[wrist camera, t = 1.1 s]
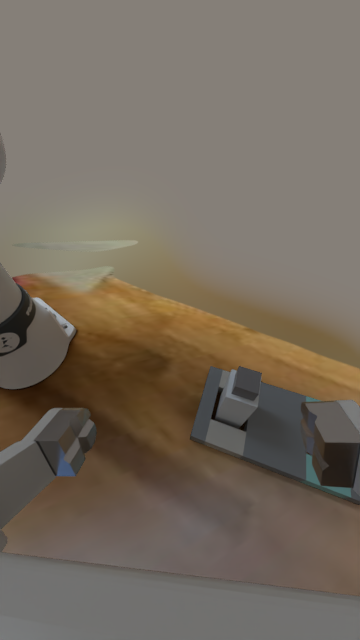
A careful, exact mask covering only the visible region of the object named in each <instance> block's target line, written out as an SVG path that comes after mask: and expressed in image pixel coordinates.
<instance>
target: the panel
mask: <svg viewBox="0 0 360 640" xmlns="http://www.w3.org/2000/svg"><path fill="white" fill-rule="evenodd" d="M229 374H230V372H228V371H225V370H221V369H218V368H215V367H212V366H211V367H210V370H209V374H208V377H207V381H206V384H205V388H204V391H203V394H202V398H201V401H200V405H199V408H198V412H197V415H196V419H195V422H194V425H193V429H192V432H191V436H190V439H191V440H193V441H196V442H198V443H201V444H204V445H206V446H209V447H211V448H214V449H216V450H219V451H222V452H224V453H227V454H229V455H232V456H234V457H237V458H240V459H242V460H245V461H247V462H250V463H252V464H255V465H258V466H260V467H263V468H265V469H268V470H270V471H273V472H276V473H278V474H281V475H283V476H286V477H288V478H291V479H294V480H296V481H299V482H301V483H304V484H306V485H309V486H312V487H314V488H317V489H319V490H322V491H324V492H327V493H330V494H332V495H335V496H337V497H340V498H342V499H345V500H348V501H350V502H353V503H355V504H358V505H360V496H359V495H358V494H357V493H356V492H355V491H354V490H353V488H344V487H329V486H321V485H320V483H319V480H318V478H317V475H316V473H315V471H314V468H313V466H312V456H311V455H308V454H306V449H305V446H304V443H303V440H302V437H301V430H300V421H301V420H302V419H303V418H304V417H303V415H302V413H301V404H302V402H315V401H320V400H317V399H314V398H310V397H307V396H304V395H301V394H298V393H294V392H291V391H288V390H285V389H282V388H279V387H275V386H272V385H269V384H266V383H263V382H261V386H260V393H259V401H258V408H257V409H256V410H255V411H254V412H253V413H252V414H251V415H250V417H249V418H248V419H247V420H246V421H245V423H244V430H243V431H242V430H239V429H237V428H234V427H231V426H228V425H226V424H223V423H220V422H217V421H215V420H212V419H211V416H212V412H213V408H214V404H215V400H216V396H217V392H218V393H222V391H223V389H224V386H225V384H226V382H227V379H228V377H229Z"/></svg>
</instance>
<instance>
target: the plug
mask: <svg viewBox="0 0 360 640" xmlns="http://www.w3.org/2000/svg"><path fill="white" fill-rule="evenodd" d="M261 374H262V373H260V372H257V371H253V370H250V369H247V368H244V367H240V366H239V368H238V370H237V371H236V370H233V369H232V370H231V372H230V374H229V377H228V379H227V382H226V384H225V386H224V389H223V391H222V393H221V396H220V399H219V403H218V407H217V411H216V415H215V419H214V420H215V421H218V422H221V423H223V424H226V425H229V426H232V427H234V428H237V429H239V428H240V427H241V426H242V424H243V423H244V422H245V421H246V420H247V419H248V418H249V417H250V415H251V414H252V413H253V412H254V411H255V410H256V409H257V408H258V401H259V393H260V386H261Z"/></svg>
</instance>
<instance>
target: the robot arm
mask: <svg viewBox="0 0 360 640" xmlns="http://www.w3.org/2000/svg"><path fill="white" fill-rule="evenodd" d="M5 168H6V155H5V148H4V144H3V140H2V137H1V134H0V183H1V182H2V179H3V177H4V173H5ZM65 328H66V329H65ZM75 333H76V329H75V327H74V326H73V325H71V324H70V323H69V322H68V321H67V320H65V319H64V318H63V317H62V316H61V315H59V314H58V313H57V312H56V311H54V310H53V309H52V308H51V307H50V306H48V305H47V304H46V303H45V302H44V301H42V300H41V299H40V298H31V297H30V295H29V294H28V293H27V292H26V291H25V290H24V289H23V288H22V287H21V286H20V285H19V284H17V283H15V282H14V280H13V279H12V278H11V276H10V275H9V274H8V273H7V271H6V270H5V268H4V267H3V266H2V264H1V263H0V387H2V388H5V389H20V388H25V387H28V386H31V385H34V384H36V383H38V382H40V381H42V380H44V379H45V378H47V377H48V376H49V375H51V374H52V373H53V372H54V371H55V370H56V369H57V368H58V367H59V366H60V364H61V363H62V361H63V360H64V358H65V356H66V353H67V350H68V346H69V343H70V341H71V339H72V338H73V337H74V335H75ZM301 413H302V415H303V417H304V418H303V419H302V420H301V421H300V430H301V437H302V440H303V443H304V446H305V449H306V451H307V452H308V453H310V454H311V455H312V466H313V468H314V471H315V473H316V475H317V478H318V480H319V483H320V485H321V486H329V487H344V488H353V490H354V491H355V492H356V493H357V494H358V495H359V496H360V407H359V405H358V404H357V403H356V402H355V401H353V400H338V401H315V402H302V404H301ZM90 416H91V414H90V412H89V410H88V409H87V408H53V409H51V410H49V411H48V412H47V413H46V414H45V415H44V416H43V417H42V419H41V420H40V421H39V422H38V423H37V424H36V425H35V426H34V427H33V428H32V430H31V431H30V432H29V433H28V434H27V435H26V436H25V437H24V438H23V439H22V441H21V442H16V443H14V444H13V445H11V446H9V447H8V448H6V449H4V450H3V451H1V452H0V640H360V596H354V595H346V594H337V593H329V592H321V591H313V590H305V589H297V588H289V587H281V586H273V585H264V584H256V583H248V582H240V581H232V580H224V579H216V578H208V577H199V576H191V575H183V574H175V573H167V572H159V571H151V570H143V569H135V568H126V567H118V566H110V565H102V564H94V563H86V562H78V561H69V560H61V559H53V558H45V557H37V556H29V555H20V554H12V553H4V552H2V550H3V549H4V547H5V546H6V544H7V539H8V538H7V536H6V535H5V534H4V533H3V531H2V530H1V529H2V528H3V527H4V526H5V525H6V524H7V523H8V522H9V521H10V520H11V519H12V518H13V517H14V516H15V515H17V514H18V513H19V512H20V511H21V510H22V509H23V508H24V507H25V506H26V505H27V504H28V503H29V502H30V501H31V500H32V499H33V498H35V497H36V496H37V495H38V494H39V493H40V492H41V491H42V490H43V489H44V488H45V487H46V486H47V485H48V484H49V483H50V482H51V481H53V480H54V479H55V476H76V475H77V473H78V471H79V470H80V468H81V466H82V464H83V463H84V461H85V453H86V452H87V451H89V450H90V449H91V448H92V446H93V444H94V442H95V439H96V434H97V432H96V426H95V424H94V423H93V422H92V421H91V420H90Z"/></svg>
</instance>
